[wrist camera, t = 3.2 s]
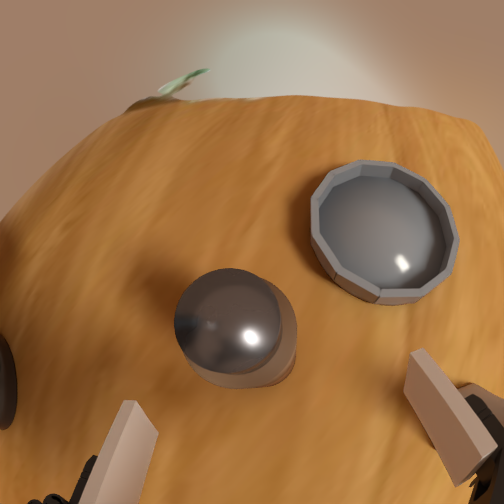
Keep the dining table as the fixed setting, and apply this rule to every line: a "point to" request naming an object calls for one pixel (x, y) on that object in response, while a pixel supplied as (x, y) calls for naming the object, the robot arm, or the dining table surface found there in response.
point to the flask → (486, 399)
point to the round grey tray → (382, 232)
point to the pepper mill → (236, 329)
